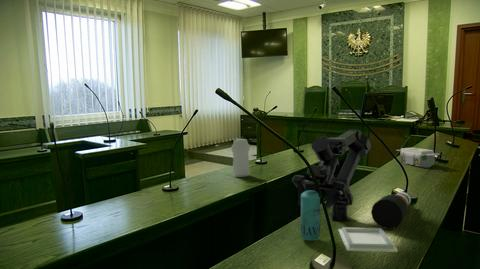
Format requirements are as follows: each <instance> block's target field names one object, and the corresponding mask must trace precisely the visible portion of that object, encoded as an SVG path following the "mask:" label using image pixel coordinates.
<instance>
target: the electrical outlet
mask: <svg viewBox="0 0 480 269" xmlns="http://www.w3.org/2000/svg"><path fill="white" fill-rule="evenodd" d="M395 151H397V152H400V160H399V161H400V163H402V164H405V165H411V166H417V167H419V168H424V169H425V168H432V166H434V165H435V156H440V155H441V153H435V152H434V149H433V150H432V149H425V148H420V147H419V148H417V147H404V148H403V147H402V148H400V149H396V150H395Z"/></svg>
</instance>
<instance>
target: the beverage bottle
mask: <svg viewBox="0 0 480 269" xmlns="http://www.w3.org/2000/svg"><path fill="white" fill-rule="evenodd" d="M304 189H306V190H307V191H304V192H303V193H302V194H301V205H300V217H299V218H300V226H299V230H300V233H299V234H300V237H301V238H302V239H303V240H307V241H316V240H318V239H320V236H321V196H320V197H319V195H320V194H319V192H317V191H316V190H318V188H316V186H315V183H314V181H313V180H307V181H306V182H305V183H304ZM318 194H319V195H318Z"/></svg>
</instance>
